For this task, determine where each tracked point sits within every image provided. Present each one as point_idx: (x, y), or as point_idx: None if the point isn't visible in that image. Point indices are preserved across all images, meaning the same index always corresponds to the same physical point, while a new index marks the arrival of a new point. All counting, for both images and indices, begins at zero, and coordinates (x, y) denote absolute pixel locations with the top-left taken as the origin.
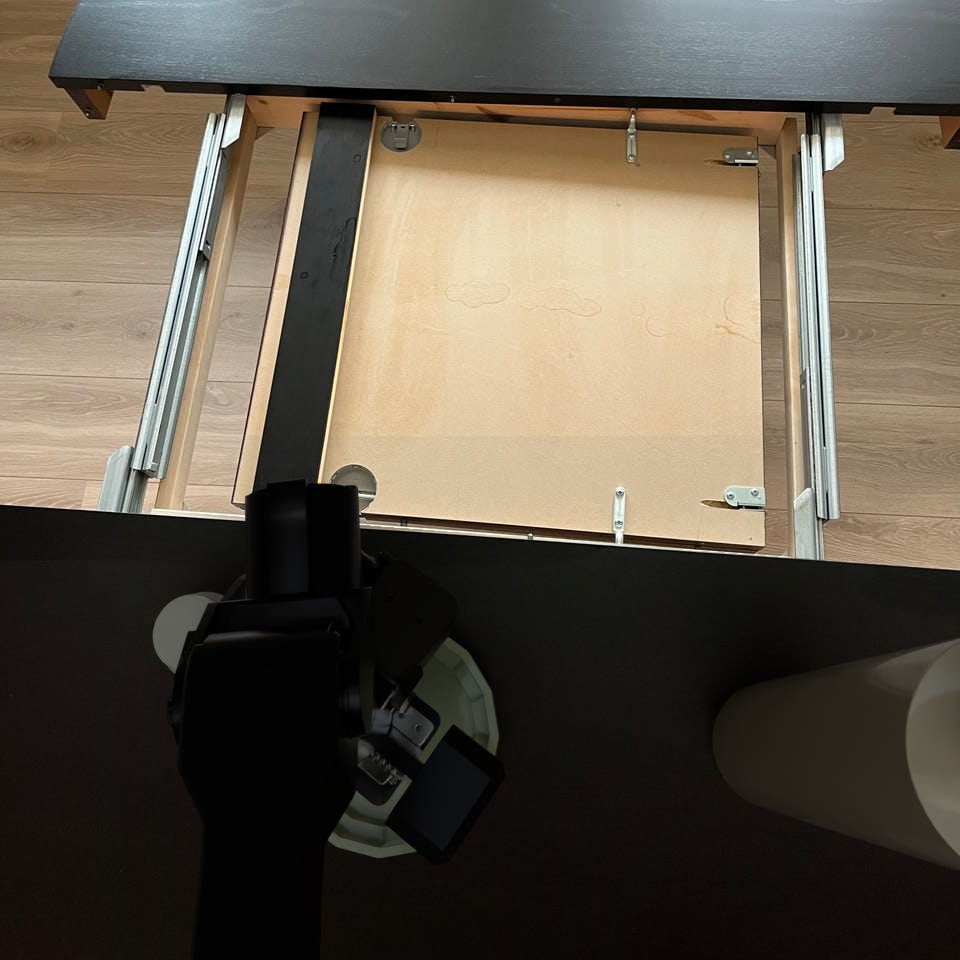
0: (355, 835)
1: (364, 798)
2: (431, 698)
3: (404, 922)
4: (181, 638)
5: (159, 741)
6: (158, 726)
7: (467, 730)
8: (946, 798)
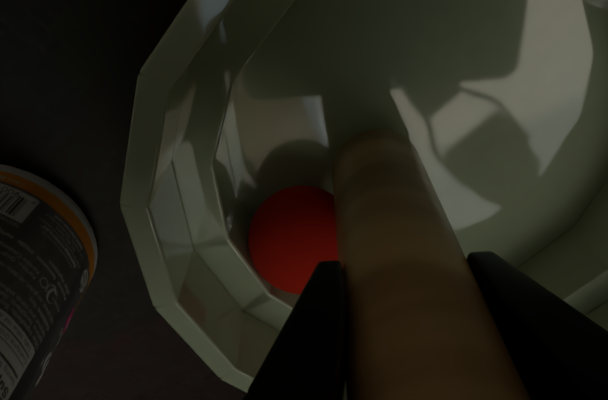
0: None
1: None
2: (460, 26)
3: None
4: None
5: (92, 384)
6: (69, 374)
7: (591, 24)
8: None
